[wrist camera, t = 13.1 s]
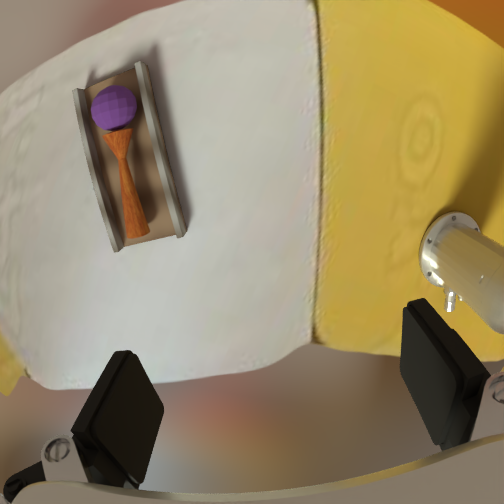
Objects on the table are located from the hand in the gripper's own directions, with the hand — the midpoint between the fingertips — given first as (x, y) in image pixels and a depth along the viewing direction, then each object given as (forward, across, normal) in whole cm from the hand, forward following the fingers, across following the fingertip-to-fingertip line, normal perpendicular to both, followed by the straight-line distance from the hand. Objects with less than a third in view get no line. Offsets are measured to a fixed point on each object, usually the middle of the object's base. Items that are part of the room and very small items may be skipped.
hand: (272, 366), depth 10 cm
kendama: (+32, +16, -9) cm, 37 cm away
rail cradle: (+33, +16, -9) cm, 38 cm away
